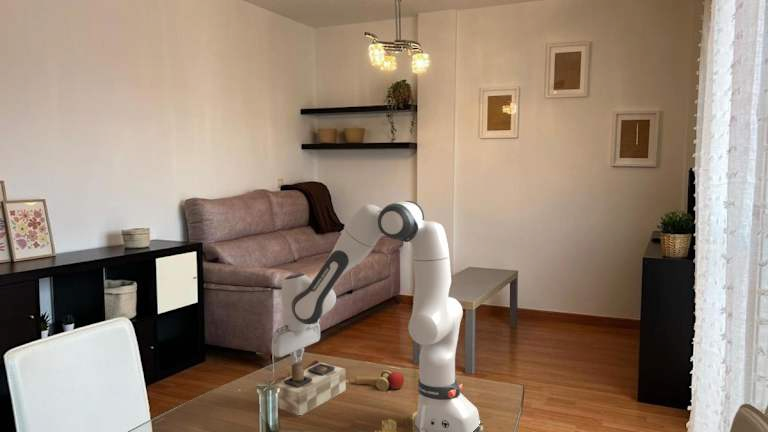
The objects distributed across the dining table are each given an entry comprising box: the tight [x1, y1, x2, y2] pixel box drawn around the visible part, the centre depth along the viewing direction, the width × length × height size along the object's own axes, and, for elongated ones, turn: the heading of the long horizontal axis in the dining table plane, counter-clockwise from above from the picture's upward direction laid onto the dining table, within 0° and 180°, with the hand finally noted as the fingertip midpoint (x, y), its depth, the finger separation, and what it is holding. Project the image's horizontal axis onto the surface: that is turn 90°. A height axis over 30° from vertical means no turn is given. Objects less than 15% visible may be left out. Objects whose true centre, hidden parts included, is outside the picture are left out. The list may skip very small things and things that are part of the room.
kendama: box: [355, 369, 405, 391], centre depth 209 cm, size 8×6×18 cm
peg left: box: [291, 362, 305, 383], centre depth 194 cm, size 4×4×8 cm
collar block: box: [272, 361, 347, 416], centre depth 199 cm, size 12×24×9 cm, turn 145°
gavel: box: [286, 360, 321, 378], centre depth 223 cm, size 21×5×10 cm
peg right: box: [316, 366, 327, 371], centre depth 204 cm, size 4×4×8 cm
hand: (297, 361), depth 193 cm, fingers closed
